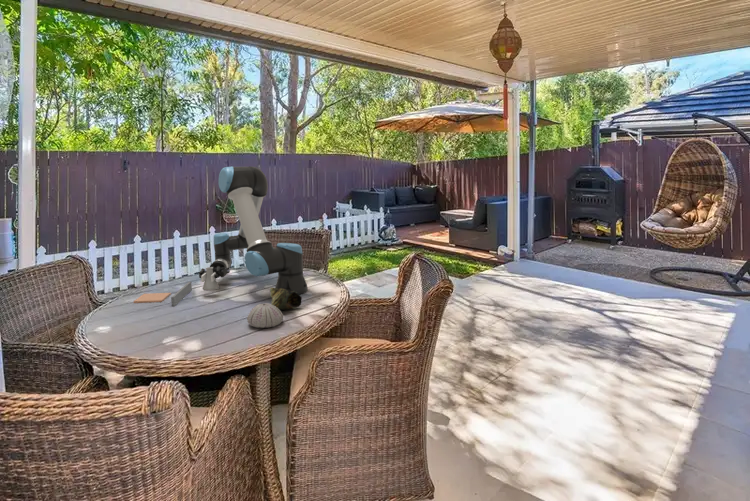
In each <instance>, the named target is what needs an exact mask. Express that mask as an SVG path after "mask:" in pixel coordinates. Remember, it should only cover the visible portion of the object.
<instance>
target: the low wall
mask: <svg viewBox="0 0 750 501" xmlns="http://www.w3.org/2000/svg"><path fill="white" fill-rule="evenodd" d="M192 289H193V286H192V281H187V283H186V284H184V285H182V287H181V288H180V289H179V290H178V291H176V293H174V294H173V295H172V296H171V297H170V300H171V302H170V303H171V307H176V306H177V305H178V304H179V303H180V302H181V301H182V300H183V299H184V298H185V297H186V296H187V295H188V294H189V293H190V292H191V291H192Z"/></svg>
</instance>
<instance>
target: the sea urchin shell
mask: <svg viewBox="0 0 750 501" xmlns="http://www.w3.org/2000/svg"><path fill="white" fill-rule="evenodd" d="M246 320H247V321H246V322H247V323H248V325H249V326H251V327H254V328H259V329H260V328H261V329H264V328H267V329H268V328H271V327H272V328H273V327H276V326H279V325H280V324H281V323H282V322H283V320H284V315H283V313H282V310H279V309H278V308H277V307H276V306H274V305H272V304H271V303H269V302H266V303H259V304H257V305H255V306H254V307H253V308H252V309H251V310H250V311H249V313H248V315H247V317H246Z"/></svg>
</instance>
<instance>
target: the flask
mask: <svg viewBox="0 0 750 501" xmlns="http://www.w3.org/2000/svg"><path fill="white" fill-rule="evenodd" d="M204 269H205V270H206V280H205V281H204V282H203V286H202V290H203V291H215V290H218V289H220V285H219V283H218V282H217V278H216V279H215V280H214V281H213V282H211V275H212V274H213V267H210V266H207V267H205V268H204Z"/></svg>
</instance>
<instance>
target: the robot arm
mask: <svg viewBox="0 0 750 501" xmlns="http://www.w3.org/2000/svg"><path fill="white" fill-rule="evenodd" d="M217 183H218V188H219V190H220V192H222V193H224V194H225V193H226V196H227V197H228V199H229V200H232V202H233V205H234V208H235V211H236V214H237V216H238V219H239V223H240V226H239V230H238V234H237V235H229V233H227V232H220V233H218V232H217V233H215V234H214V235H213V248H214V261H213V262H212V263H211V264H210V265H209V267H213V274H212V275H211V282H213V281H214V280H215V279H216V280H217V279H218V278H224V277H225V276H226V275H228V274H230V273H231V269H230V268H231V266H232V265H233V259H232V257H231V252H232V251H237V250H245V249H246V250H245V251H246V252H245V254H244V264H245V267H246V269H247V271H248V273H250V275H252V276H254V277H264V276H265V277H266V276H267V275H268V276H270V275H272V274H277V280H276V282H275V287H274V288H278V289H286V290H287V291H288V292H292V291H296V292H297V293H299V294H300V295H301V294H304V292H305V293H307V291H308V284H307V282H306V279H305V276H304V267H303V266H304V265H303V264H304V263H303V261H304V260H303V248H302V245H301V244H299V243H290V242H278V243H277V244H276V246H275V247H274V246H273V244H272V241H269V240H268V239H267V237H266V234H265V231H264V229H263V226H262V222H261V220H260V216H259V215H260V212H261V207H262V204H263V201H264V198H265V197H266V196H267V195H268V194H267V193H268V188H269V185H268V183H269V182H268V179H267V176H266V175H265V173H264V172H263V171H262V170H261V169H260V168H258V167H257V166H232V165H231V166H226V167H223V168H222V169H221V170H220V172H219V175H218V182H217ZM198 276H199V278H200V279H201V283H204V282H205V280H206V269H205V268H201V269H200V270H199V272H198Z"/></svg>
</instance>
